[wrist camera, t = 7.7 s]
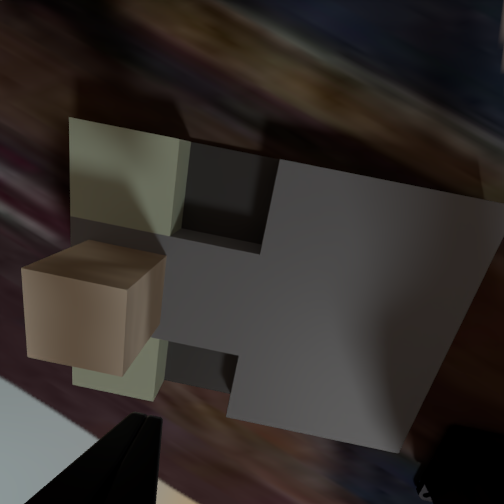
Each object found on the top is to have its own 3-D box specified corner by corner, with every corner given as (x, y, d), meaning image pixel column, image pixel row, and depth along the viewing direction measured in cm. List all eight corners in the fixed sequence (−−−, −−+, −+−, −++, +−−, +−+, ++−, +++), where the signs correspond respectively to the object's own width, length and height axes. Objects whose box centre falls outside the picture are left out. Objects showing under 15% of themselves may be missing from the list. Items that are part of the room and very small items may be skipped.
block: (166, 255, 14) (127, 290, 10) (159, 323, 15) (122, 377, 12) (88, 239, 14) (21, 268, 10) (88, 309, 15) (27, 356, 12)
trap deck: (485, 200, 14) (518, 206, 12) (385, 423, 19) (398, 453, 17) (96, 122, 14) (69, 117, 12) (92, 362, 19) (72, 384, 17)
